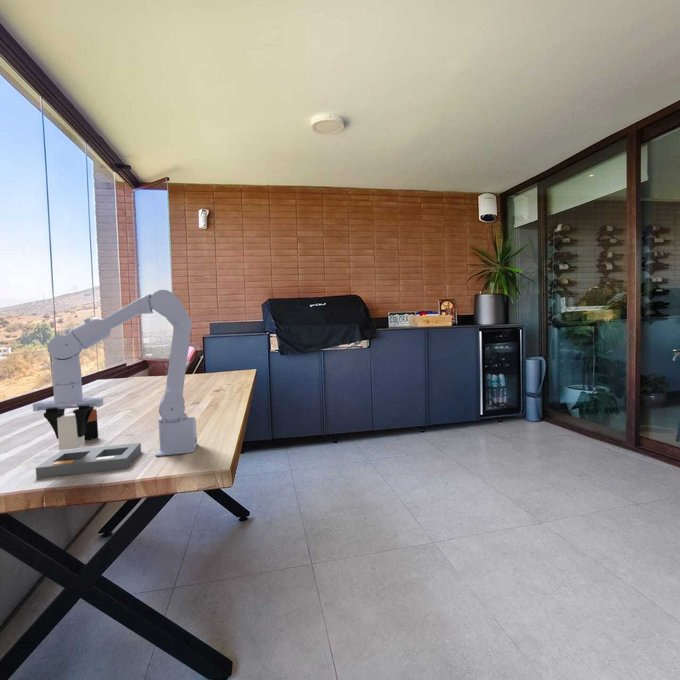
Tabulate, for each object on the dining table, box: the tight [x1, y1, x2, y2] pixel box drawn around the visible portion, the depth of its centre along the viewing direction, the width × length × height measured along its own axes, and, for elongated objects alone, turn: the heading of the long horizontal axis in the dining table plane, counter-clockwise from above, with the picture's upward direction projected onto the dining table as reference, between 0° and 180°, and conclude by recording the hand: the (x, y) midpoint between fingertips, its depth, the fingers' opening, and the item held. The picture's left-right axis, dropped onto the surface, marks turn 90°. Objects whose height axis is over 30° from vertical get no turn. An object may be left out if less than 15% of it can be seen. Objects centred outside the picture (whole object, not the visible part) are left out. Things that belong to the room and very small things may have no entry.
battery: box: [72, 408, 99, 442], centre depth 115 cm, size 4×7×10 cm, turn 57°
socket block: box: [35, 442, 142, 479], centre depth 92 cm, size 19×12×3 cm, turn 104°
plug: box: [57, 412, 86, 451], centre depth 91 cm, size 4×4×8 cm
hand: (71, 436), depth 91 cm, fingers closed on plug, 4 cm apart
